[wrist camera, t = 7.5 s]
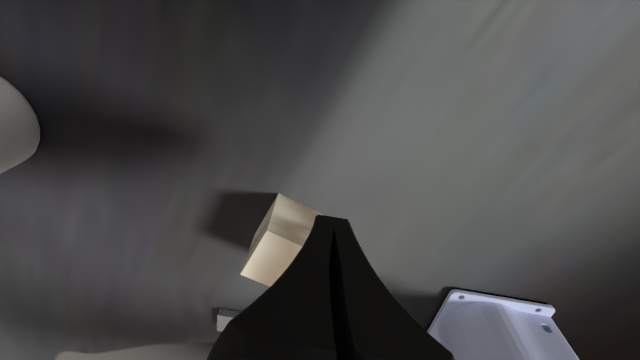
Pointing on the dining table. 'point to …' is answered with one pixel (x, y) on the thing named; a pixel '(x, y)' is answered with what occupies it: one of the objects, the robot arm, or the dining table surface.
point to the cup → (16, 127)
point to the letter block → (278, 240)
